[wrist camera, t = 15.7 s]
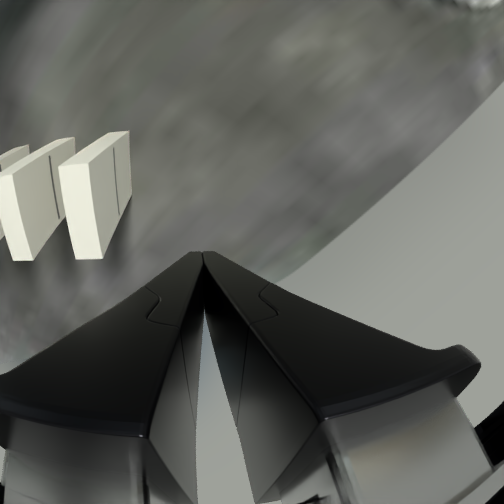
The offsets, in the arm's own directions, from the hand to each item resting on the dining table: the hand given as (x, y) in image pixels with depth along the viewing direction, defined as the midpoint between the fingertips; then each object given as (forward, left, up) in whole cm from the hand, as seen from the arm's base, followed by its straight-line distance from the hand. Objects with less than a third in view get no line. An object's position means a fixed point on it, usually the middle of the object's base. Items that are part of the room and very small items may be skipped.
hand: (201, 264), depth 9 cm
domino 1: (-5, -2, -13) cm, 15 cm away
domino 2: (-10, -4, -13) cm, 17 cm away
